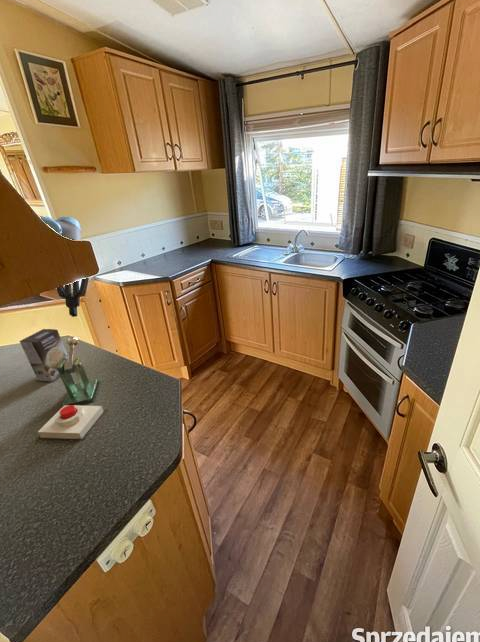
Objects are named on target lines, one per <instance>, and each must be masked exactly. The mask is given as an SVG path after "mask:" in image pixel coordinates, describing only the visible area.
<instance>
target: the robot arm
mask: <svg viewBox="0 0 480 642" xmlns="http://www.w3.org/2000/svg"><path fill="white" fill-rule="evenodd" d="M39 216H40V217H41V219H42V220H43V221H44V222H45V223H46V224H48V225H49V226H50V227H51V228H53V229H54V230H55V231H56V232H58V233H59V234H60V235H62V236H64V237H67V238H69V239H72V240H81V241H82V231H81V225H80V221H78V220H77V219H76V218H74V217H71V216H60V217H58V218H57V219H53V218H51V217H49V216H42V215H39ZM89 280H90V277H89V278H86V279H82V278H81V281H80V280H79V281H76V282H74V283H73V282H72V283H71V284H69V285H65V286H64V285H63V286H64V288H63V286H62V287H59V288H57V289H56V291H57V294H58V296H59V297H60V298H61V299H62V300H65V307H67V308H68V313H69V316H71V318H74V317H75V318H76V317H78V307H80V306H81V301H80V299H81V298H83V297H85V296H86V294H87V289H88V285H89Z"/></svg>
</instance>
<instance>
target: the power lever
mask: <svg viewBox="0 0 480 642" xmlns="http://www.w3.org/2000/svg"><path fill="white" fill-rule="evenodd" d="M79 340H80V339H79V338H78V337H77V336H69V338H67V340H66V343H67V345H68V346H69V351H68V357H69V359H68V362H65V367H64V370H65V371H66V373H67V374H69V373H70V374H73V373H75V371H74V369H73V366H72V364H73V362H74V360H75V351H76V346H78V345H79V343H80V341H79Z"/></svg>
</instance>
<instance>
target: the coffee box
mask: <svg viewBox="0 0 480 642" xmlns="http://www.w3.org/2000/svg"><path fill="white" fill-rule="evenodd" d="M19 343H20V345H21V347H22V348H21V349H22V350H23V351H24V354H25V356H26V358H27V360H28V363H29V364H30V367H31V369H32V371H33V373H34V375H35V378H36V380H37V381H40V382H41V381H42V382H54V381H55V380H57V378H59V377H61V376H60V374H59V372H58V370H57V367H58V365H59V363H60V362H61V360H65V362H68V359H69V354H68V353H67V350H66V348H65V345H64V342H63V340H62V338H61V336H60V333H59V331H58V329H54V328H42V329H40V330H39V331H36V332H35V333H32V334H31V335H29V336H26V337H25V338H23V339H21V340H19Z"/></svg>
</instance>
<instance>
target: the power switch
mask: <svg viewBox="0 0 480 642" xmlns="http://www.w3.org/2000/svg"><path fill="white" fill-rule="evenodd" d="M72 366H73V369H74V371H75V372H74V373H75V376H76V378H77V380H78V383H75V381H74V378H73V376H72V373H69V374H67V373H66V371H65V370H64V367H65V360H61V362H60V363H59V365H58V367H57V370H58V372H59V374H60V376H59V377H60V378H61V381H62V383H63V386H64V388H65V389H66V392H67V394H66V395H65V397H64V400H63V402H62V407H63V406H64V405H80V406H81V405H85V404H88V403H92V402H93V401H94V399H95V395H96V391H97V389H98V386H99V380H98V379H92V380H89V378H88V376H87V372H86V370H85V368H84V365H83V363H82V361H81V358H80V357H79V356H76V357H74V362H73V364H72Z"/></svg>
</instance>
